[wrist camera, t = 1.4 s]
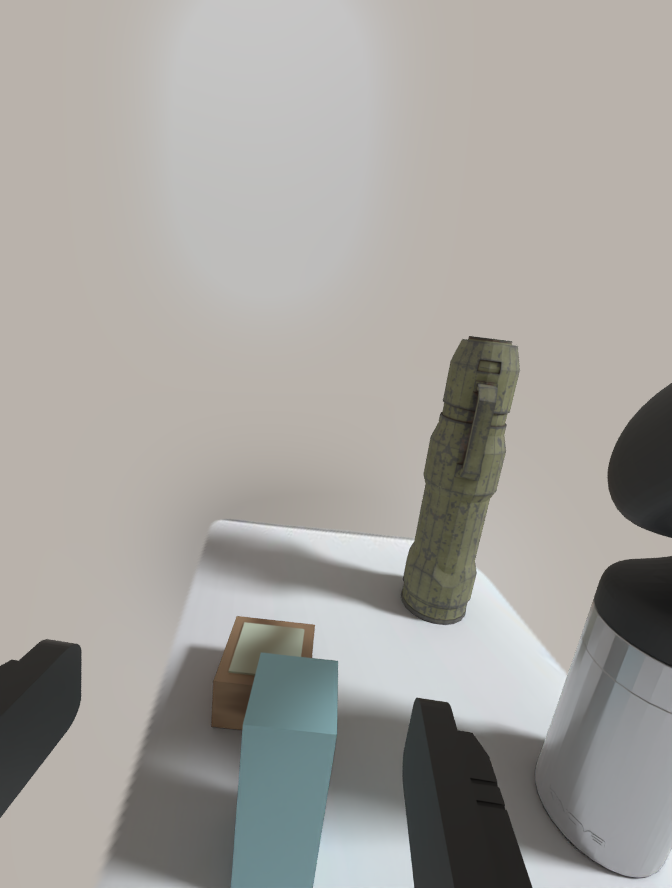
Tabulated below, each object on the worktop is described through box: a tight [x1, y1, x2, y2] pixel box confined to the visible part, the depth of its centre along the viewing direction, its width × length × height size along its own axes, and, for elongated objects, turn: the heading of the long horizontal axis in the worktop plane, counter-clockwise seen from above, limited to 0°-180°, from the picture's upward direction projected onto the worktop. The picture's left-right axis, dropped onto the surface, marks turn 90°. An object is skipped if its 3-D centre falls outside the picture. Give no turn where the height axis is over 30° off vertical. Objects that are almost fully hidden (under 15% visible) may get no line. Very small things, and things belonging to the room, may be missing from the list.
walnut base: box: [211, 616, 315, 730], centre depth 39 cm, size 8×8×5 cm
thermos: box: [401, 336, 520, 625], centre depth 52 cm, size 9×12×35 cm
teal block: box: [231, 653, 338, 888], centre depth 26 cm, size 5×5×14 cm
